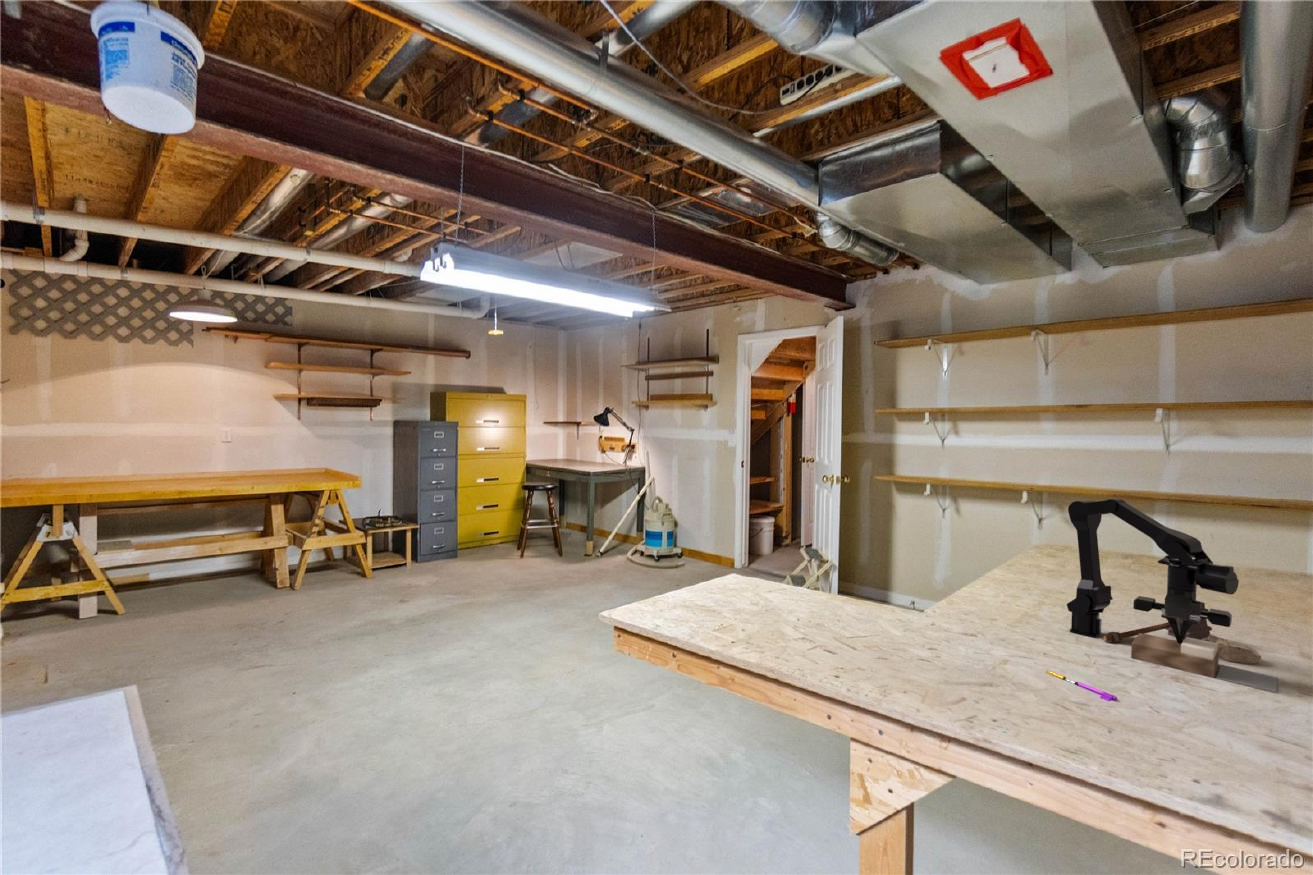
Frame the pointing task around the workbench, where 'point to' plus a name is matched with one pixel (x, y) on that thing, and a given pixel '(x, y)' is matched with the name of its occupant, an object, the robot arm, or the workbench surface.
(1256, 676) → the mat
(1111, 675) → the workbench surface
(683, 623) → the workbench surface
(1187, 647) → the cream rectangular block
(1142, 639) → the plate
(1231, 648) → the stone
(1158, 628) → the hammer
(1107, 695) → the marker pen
